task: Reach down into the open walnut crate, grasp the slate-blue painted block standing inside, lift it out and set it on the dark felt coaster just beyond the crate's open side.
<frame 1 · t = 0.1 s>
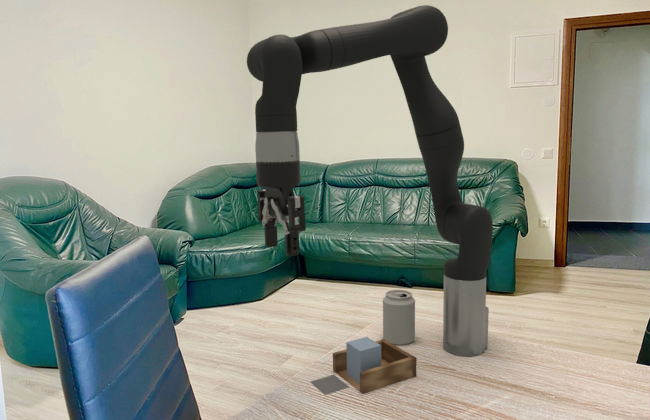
hand: (281, 250, 89), 29 cm above the table, tool pointing down, fingers open, 8 cm apart
crate: (374, 376, 103), on the table
coaster: (329, 387, 99), on the table
can: (398, 342, 120), on the table
block: (364, 376, 101), point 1 cm above the table, touching crate
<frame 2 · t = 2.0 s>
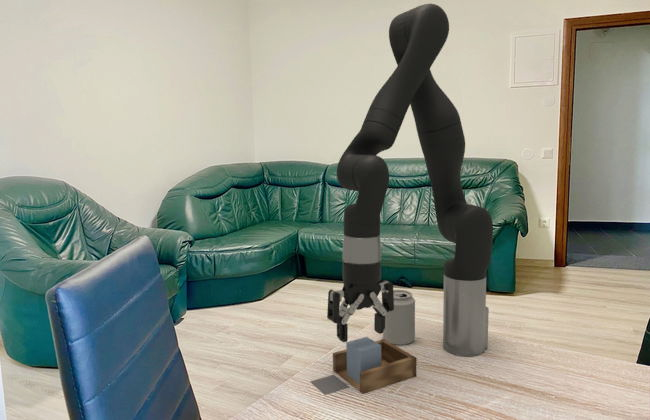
hand: (361, 336, 100), 9 cm above the table, tool pointing down, fingers open, 8 cm apart
nothing on the table moved.
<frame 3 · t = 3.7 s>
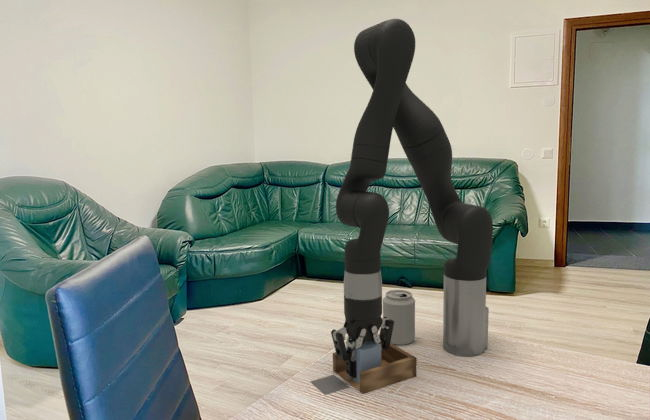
hand: (363, 372, 101), 1 cm above the table, tool pointing down, fingers closed on block, 5 cm apart
block: (364, 376, 101), point 1 cm above the table, touching crate, gripper
everything else where it was.
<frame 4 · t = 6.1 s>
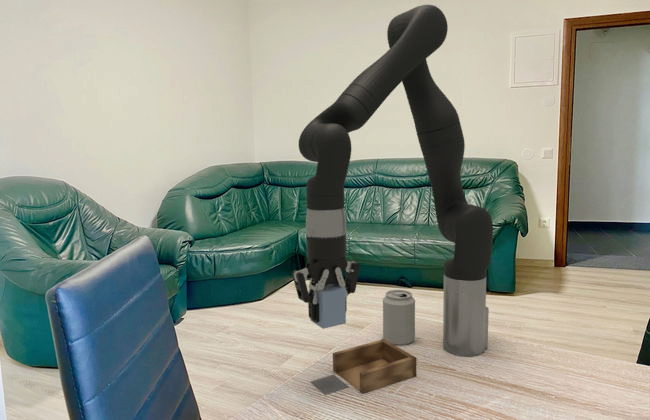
hand: (327, 317, 97), 14 cm above the table, tool pointing down, fingers closed on block, 5 cm apart
block: (328, 321, 97), point 13 cm above the table, touching gripper
everything else where it was.
when the fingers open (3 cm above the table, at t = 8.5 s): block drops 2 cm, resting on coaster.
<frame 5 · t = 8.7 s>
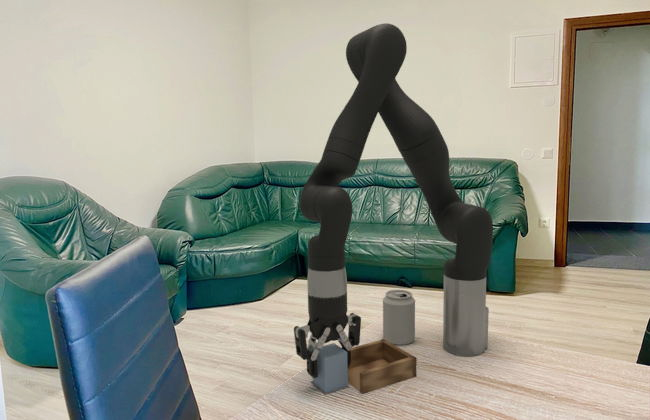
hand: (329, 371, 98), 3 cm above the table, tool pointing down, fingers open, 6 cm apart
block: (330, 383, 99), point 1 cm above the table, touching coaster
everything else where it was.
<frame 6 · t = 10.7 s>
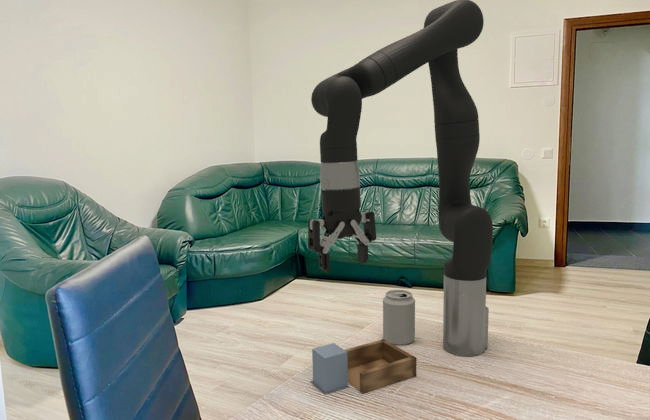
hand: (344, 267, 99), 23 cm above the table, tool pointing down, fingers open, 8 cm apart
nothing on the table moved.
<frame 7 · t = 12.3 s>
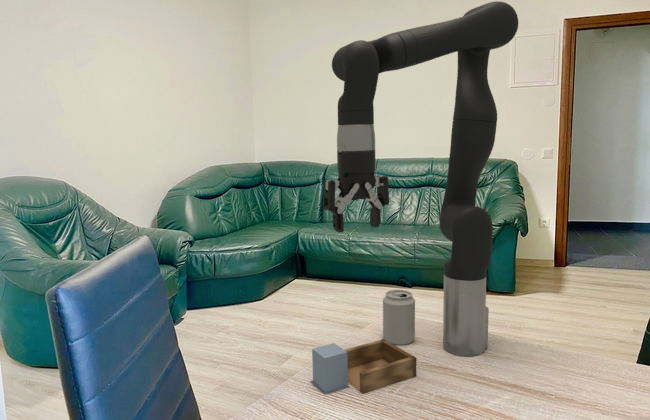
hand: (357, 229, 101), 30 cm above the table, tool pointing down, fingers open, 8 cm apart
nothing on the table moved.
at the end: block inside the target area on the coaster (0.2 cm from its centre), point 0.6 cm above the coaster's base; block tilted 0°; the gripper is holding nothing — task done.
